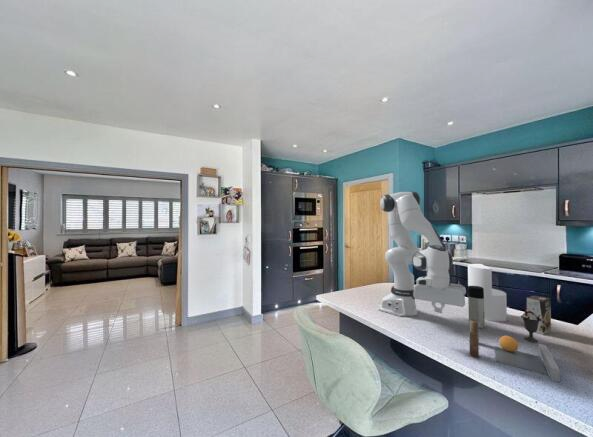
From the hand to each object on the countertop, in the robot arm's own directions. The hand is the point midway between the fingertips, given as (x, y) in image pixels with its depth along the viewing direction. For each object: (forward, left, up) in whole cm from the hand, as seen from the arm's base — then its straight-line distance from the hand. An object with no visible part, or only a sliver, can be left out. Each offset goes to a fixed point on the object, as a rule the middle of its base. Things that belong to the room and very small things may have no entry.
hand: (438, 312), depth 112 cm
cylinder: (+19, +50, -14) cm, 55 cm away
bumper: (+36, +1, -13) cm, 38 cm away
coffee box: (+39, +40, -14) cm, 57 cm away
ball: (+25, +7, -10) cm, 28 cm away
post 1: (+13, +8, -13) cm, 20 cm away
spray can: (+14, +30, -14) cm, 36 cm away
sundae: (+34, +25, -14) cm, 44 cm away
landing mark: (+27, +1, -13) cm, 30 cm away
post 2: (+13, -5, -13) cm, 19 cm away
